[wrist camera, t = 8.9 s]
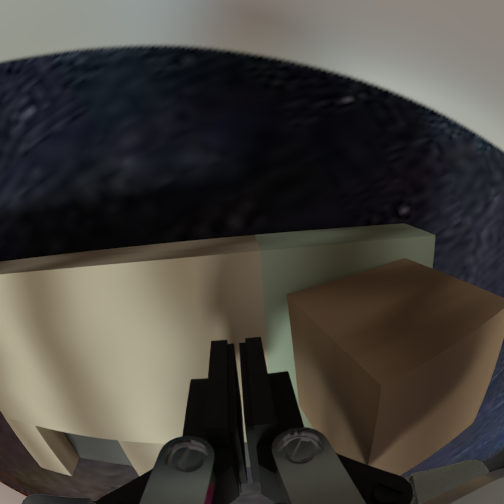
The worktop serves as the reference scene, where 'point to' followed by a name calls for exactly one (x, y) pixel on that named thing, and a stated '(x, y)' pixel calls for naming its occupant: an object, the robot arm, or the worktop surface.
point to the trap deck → (157, 331)
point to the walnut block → (394, 360)
